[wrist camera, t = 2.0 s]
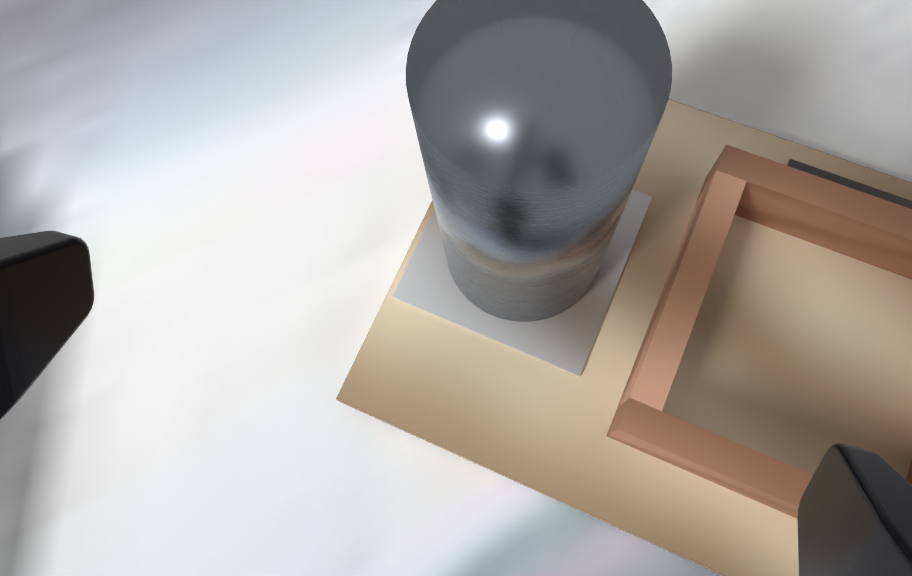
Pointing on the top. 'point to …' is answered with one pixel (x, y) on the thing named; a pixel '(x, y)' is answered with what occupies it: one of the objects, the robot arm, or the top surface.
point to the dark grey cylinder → (534, 139)
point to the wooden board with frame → (678, 349)
